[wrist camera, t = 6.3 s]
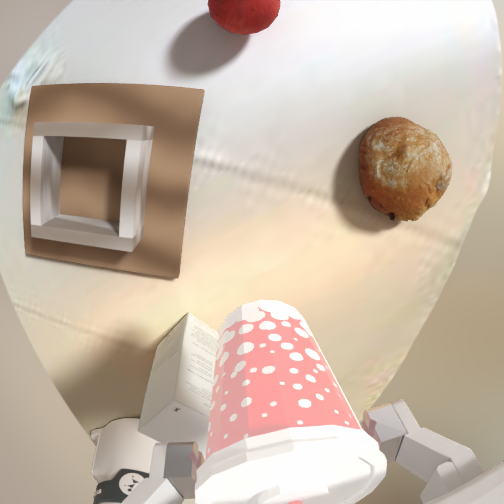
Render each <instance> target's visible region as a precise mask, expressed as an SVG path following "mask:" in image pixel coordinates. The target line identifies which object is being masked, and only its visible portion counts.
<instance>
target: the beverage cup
mask: <svg viewBox="0 0 504 504" xmlns="http://www.w3.org/2000/svg"><path fill="white" fill-rule="evenodd" d="M386 466H387V460H386V457H385V455H384V454H383V453H382V452H381V451H380V450H379V446H378V442H377V441H376V440H374V439H373V438H372V437H371V436H370V435H368V434H367V433H366V432H365V431H364V430H362V428H361V426H360V424H359V422H358V420H357V418H356V416H355V414H354V412H353V410H352V408H351V406H350V405H349V403H348V401H347V399H346V397H345V395H344V393H343V391H342V389H341V387H340V386H339V384H338V382H337V380H336V378H335V376H334V374H333V372H332V370H331V368H330V367H329V365H328V363H327V361H326V359H325V357H324V355H323V353H322V351H321V350H320V348H319V346H318V344H317V342H316V340H315V338H314V336H313V335H312V333H311V331H310V329H309V327H308V325H307V323H306V322H305V320H304V318H303V317H302V316H301V315H300V314H299V313H298V312H297V310H296V309H295V308H294V307H291V306H289V305H287V304H284V303H282V302H280V301H272V300H258V301H254V302H251V303H248V304H244V305H241V306H240V307H238V308H237V309H236V310H234V311H233V312H232V313H230V314H229V315H228V316H227V317H226V319H225V320H224V322H223V324H222V325H221V327H220V329H219V335H218V344H217V352H216V361H215V370H214V379H213V389H212V398H211V408H210V417H209V427H208V438H207V448H206V459H205V462H204V463H203V464H202V465H201V466H200V467H199V468H198V469H197V470H196V472H197V482H196V483H195V501H196V504H354V503H356V502H357V501H359V500H360V499H362V498H363V497H365V496H366V495H368V494H369V493H371V492H372V491H373V490H374V489H375V487H377V485H378V484H379V483H380V482H381V481H382V479H383V478H384V477H385V476H386Z"/></svg>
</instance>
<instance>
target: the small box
mask: <svg viewBox="0 0 504 504" xmlns="http://www.w3.org/2000/svg"><path fill="white" fill-rule="evenodd" d="M218 335H219V333H218V332H217V331H215V330H214V329H212V328H211V327H209V326H208V325H206V324H205V323H203V322H202V321H200V320H199V319H198V318H196V317H195V316H193V315H192V314H190V313H187V314H186V315H185V316H184V318H183V319H182V320H181V321H180V322H179V323H178V324H177V325H176V326H175V327H174V328H173V329H172V331H171V332H170V333H169V334H168V335H167V336H166V337H165V338H164V339H163V340H162V341H161V342H160V343H159V344H158V346H157V349H156V353H155V357H154V361H153V365H152V369H151V373H150V377H149V381H148V385H147V390H146V394H145V398H144V402H143V407H142V412H141V416H140V421H139V426H138V432H140V433H142V434H144V435H146V436H148V437H150V438H152V439H154V440H156V441H158V442H160V443H165V442H194V441H196V443H197V445H198V451H200V452H202V454H203V456H204V460H205V459H206V448H207V438H208V427H209V417H210V408H211V398H212V389H213V379H214V370H215V361H216V352H217V344H218Z"/></svg>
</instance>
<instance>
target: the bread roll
mask: <svg viewBox="0 0 504 504" xmlns="http://www.w3.org/2000/svg"><path fill="white" fill-rule="evenodd" d="M359 172H360V182H361V186H362V188H363V192H364V194H365V196H366V197H367V198H368V199H369V201H370V203H371V205H372V206H373V207H374V208H375V209H377V210H378V211H380V212H382V213H384V214H385V215H388V216H389V217H390V219H391V220H393V221H396V220H403V221H408V220H412V221H416V220H418V219H419V217H421V216H422V215H423V213H425V212H426V211H427V210H429V208H431V207H433V206H435V205H436V203H437V201H438V200H439V199H440V198H441V196H442V195H443V194H444V192H445V191H446V189H447V187H448V185H449V182H450V179H451V175H452V163H451V160H450V157H449V155H448V153H447V151H446V149H445V147H444V146H443V144H442V143H441V141H440V139H439V138H438V136H437V134H434V133H433V132H431V131H429V130H426V129H425V128H423V127H421V126H420V125H418V124H415V123H414V122H412V121H410V120H408V119H405V118H402V117H389V118H385V119H382V120H380V121H378V122H377V123H376V124H374V125H373V126H372V127H371V128H370V129H369V130H368V131H367V133H366V134H365V136H364V138H363V140H362V141H361V144H360V147H359Z"/></svg>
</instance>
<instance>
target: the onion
mask: <svg viewBox="0 0 504 504" xmlns="http://www.w3.org/2000/svg"><path fill="white" fill-rule="evenodd" d="M208 7H209V11H210V15H211V17H212V18H213V19H214V20H215V21H216V22H217V23H218V25H219V26H221V27H222V28H224V29H226V30H228V31H230V32H232V33H237V34H243V35H246V34H252V33H258V32H260V31H262V30H264V29H266V28H268V27H269V26H270V25H271V23H272V22H273V21H274V20H275V18H276V17H277V16H278V13H279V9H280V0H208Z"/></svg>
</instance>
